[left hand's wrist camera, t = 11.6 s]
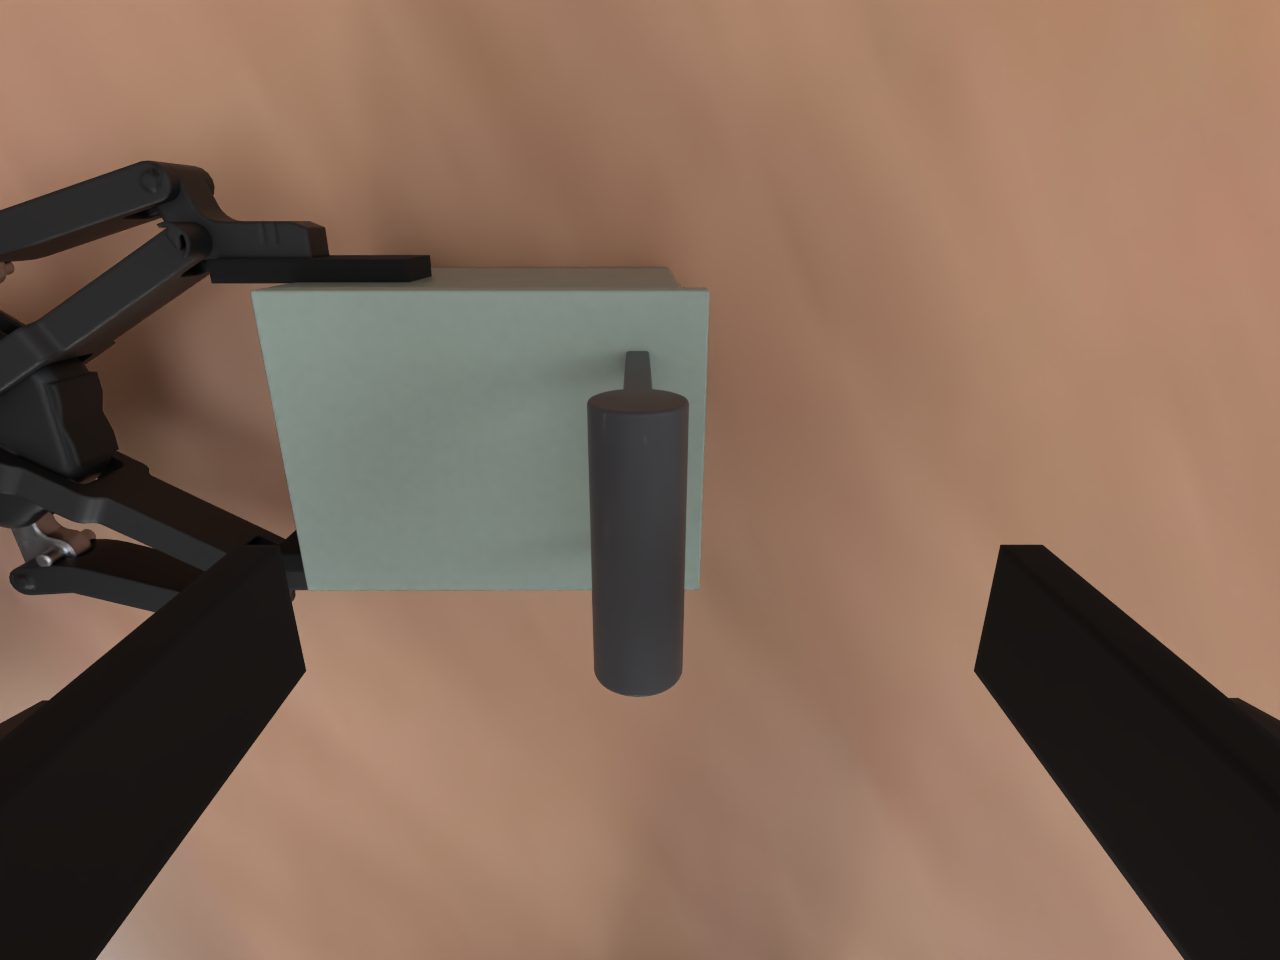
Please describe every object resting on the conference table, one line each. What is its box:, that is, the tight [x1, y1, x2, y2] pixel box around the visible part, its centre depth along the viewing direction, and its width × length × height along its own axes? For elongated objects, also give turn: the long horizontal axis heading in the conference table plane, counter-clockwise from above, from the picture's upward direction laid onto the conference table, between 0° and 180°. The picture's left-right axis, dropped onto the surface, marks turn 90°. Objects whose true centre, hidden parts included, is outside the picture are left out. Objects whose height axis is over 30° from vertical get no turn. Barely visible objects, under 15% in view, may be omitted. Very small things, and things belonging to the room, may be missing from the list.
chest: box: [269, 267, 681, 288], centre depth 27 cm, size 13×10×10 cm
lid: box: [251, 288, 710, 697], centre depth 19 cm, size 14×10×9 cm
